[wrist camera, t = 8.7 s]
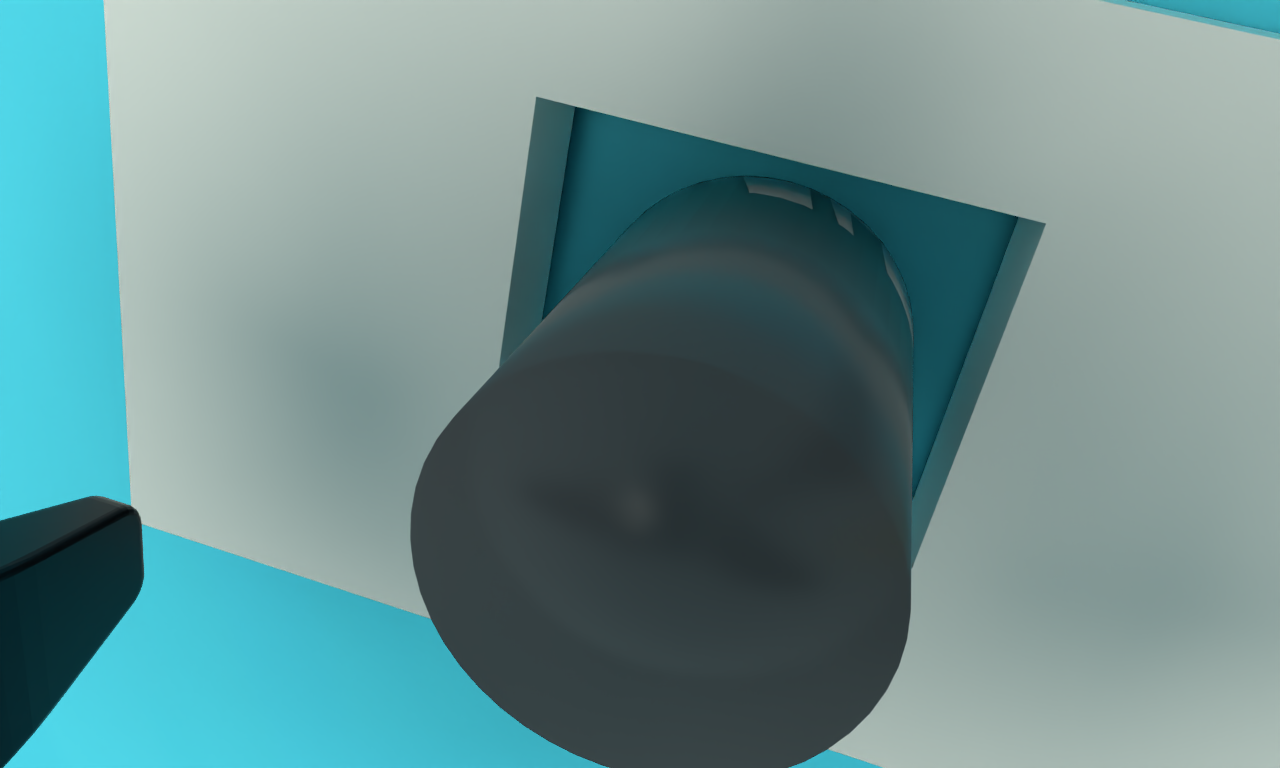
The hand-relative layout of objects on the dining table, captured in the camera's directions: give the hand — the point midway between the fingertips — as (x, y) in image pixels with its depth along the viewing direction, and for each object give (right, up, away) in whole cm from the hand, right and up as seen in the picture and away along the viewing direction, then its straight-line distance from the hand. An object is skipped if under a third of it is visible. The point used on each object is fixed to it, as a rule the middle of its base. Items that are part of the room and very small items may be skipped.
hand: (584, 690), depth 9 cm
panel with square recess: (+2, +3, +7) cm, 9 cm away
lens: (+2, +3, +7) cm, 9 cm away
